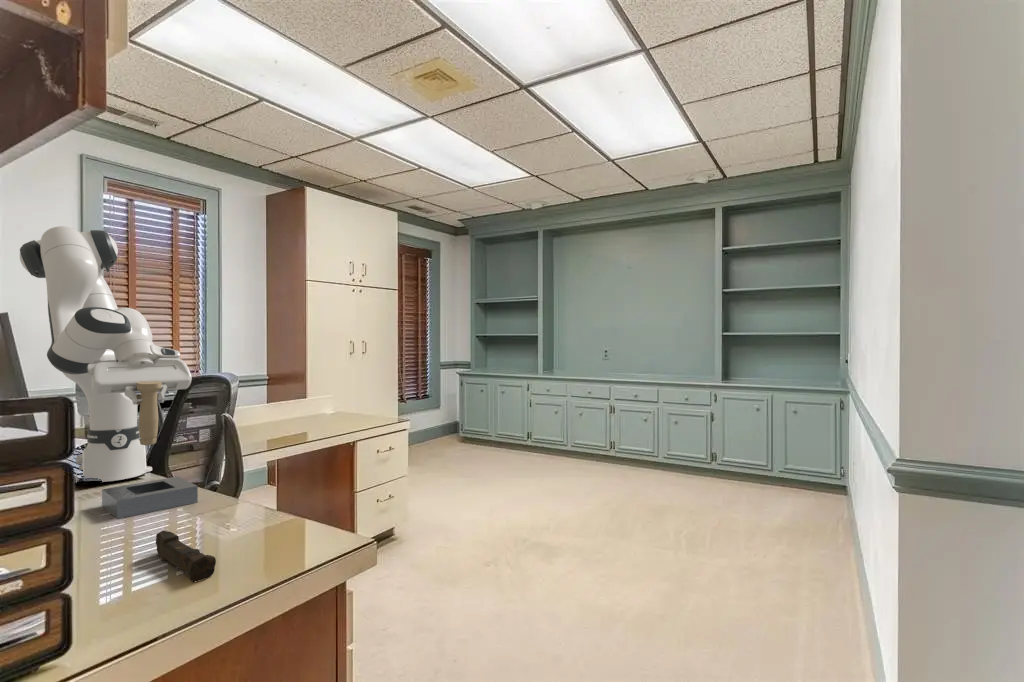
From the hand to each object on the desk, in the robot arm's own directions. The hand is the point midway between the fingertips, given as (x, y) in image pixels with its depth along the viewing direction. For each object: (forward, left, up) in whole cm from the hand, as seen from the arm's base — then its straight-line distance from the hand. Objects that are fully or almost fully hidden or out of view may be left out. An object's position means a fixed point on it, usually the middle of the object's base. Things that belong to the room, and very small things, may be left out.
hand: (149, 401), depth 127 cm
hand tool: (+44, -7, -25) cm, 52 cm away
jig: (-1, 0, -25) cm, 25 cm away
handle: (-1, 0, -10) cm, 11 cm away
